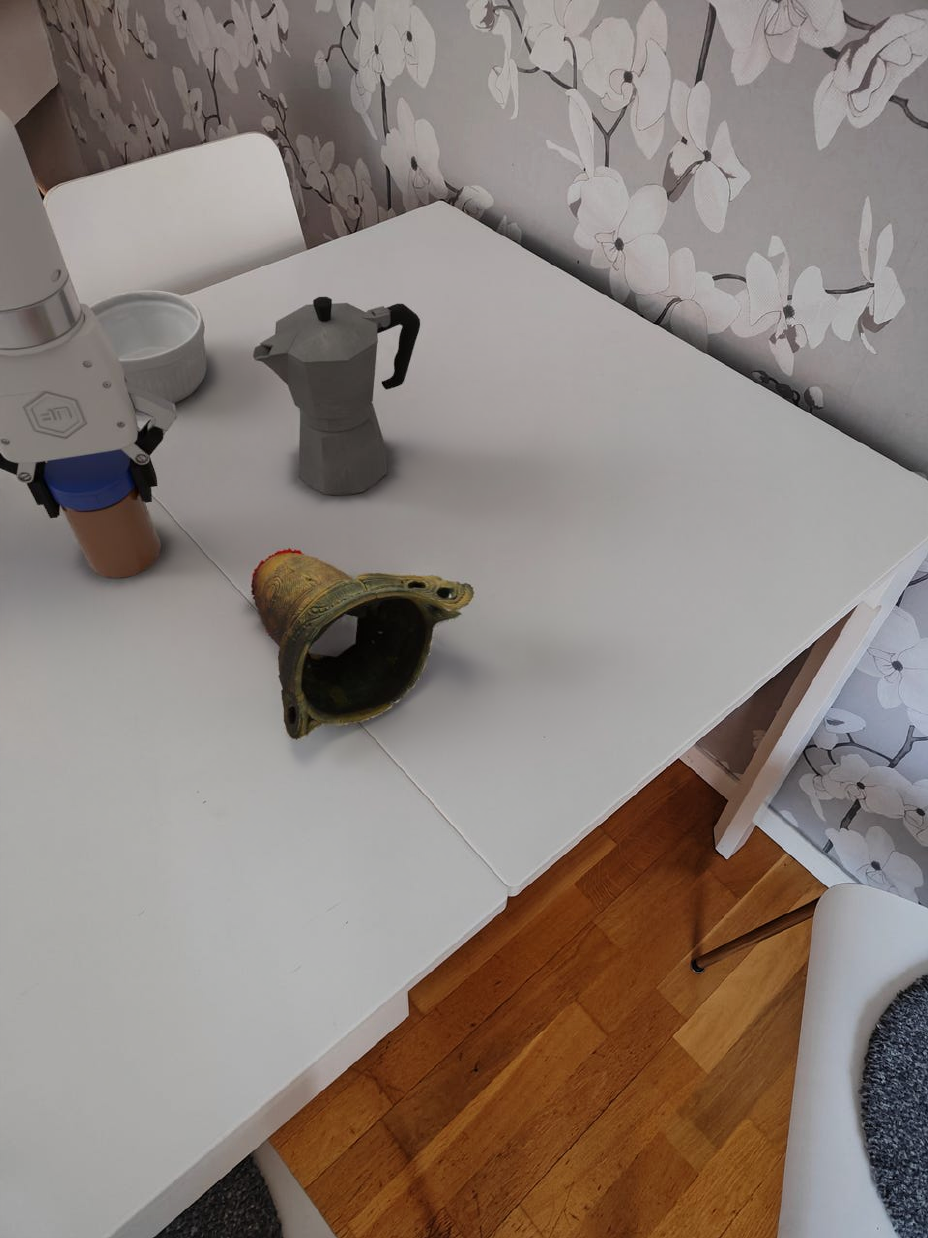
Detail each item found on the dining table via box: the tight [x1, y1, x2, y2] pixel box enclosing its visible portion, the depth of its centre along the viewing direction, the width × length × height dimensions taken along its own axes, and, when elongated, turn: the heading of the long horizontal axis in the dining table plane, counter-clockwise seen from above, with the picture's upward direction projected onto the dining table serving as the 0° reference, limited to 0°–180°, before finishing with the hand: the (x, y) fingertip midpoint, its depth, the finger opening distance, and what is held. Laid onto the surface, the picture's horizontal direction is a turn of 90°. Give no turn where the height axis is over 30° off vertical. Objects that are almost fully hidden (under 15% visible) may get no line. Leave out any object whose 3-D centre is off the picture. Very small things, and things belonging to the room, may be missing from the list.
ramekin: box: [88, 289, 207, 404], centre depth 92 cm, size 13×13×7 cm
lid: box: [44, 449, 135, 511], centre depth 71 cm, size 7×7×2 cm
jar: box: [60, 483, 162, 579], centre depth 75 cm, size 6×6×10 cm
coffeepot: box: [252, 296, 421, 496], centre depth 79 cm, size 15×9×18 cm, turn 118°
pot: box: [250, 547, 475, 741], centre depth 68 cm, size 17×11×18 cm
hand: (101, 497), depth 73 cm, fingers closed on lid, 6 cm apart
